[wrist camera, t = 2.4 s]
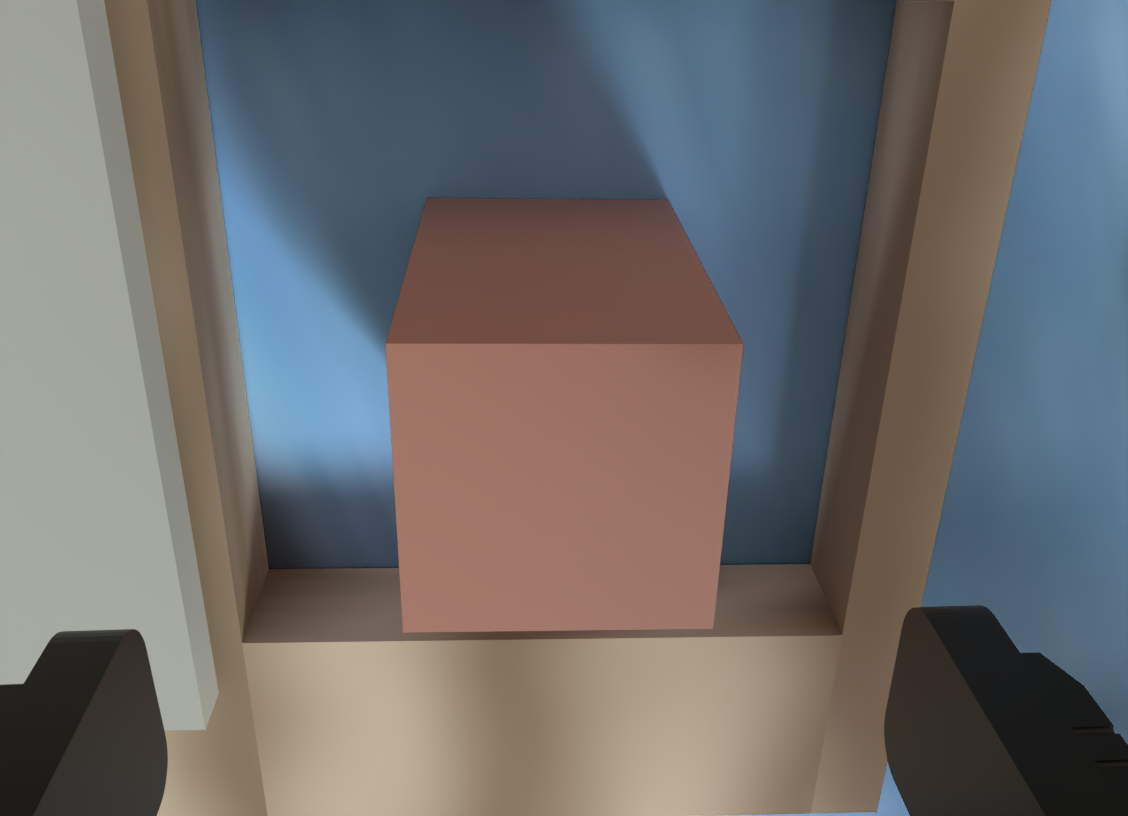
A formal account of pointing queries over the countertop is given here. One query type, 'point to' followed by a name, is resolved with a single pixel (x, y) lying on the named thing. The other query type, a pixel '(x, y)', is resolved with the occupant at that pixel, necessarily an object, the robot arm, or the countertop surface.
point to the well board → (591, 657)
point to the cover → (85, 374)
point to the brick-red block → (559, 418)
